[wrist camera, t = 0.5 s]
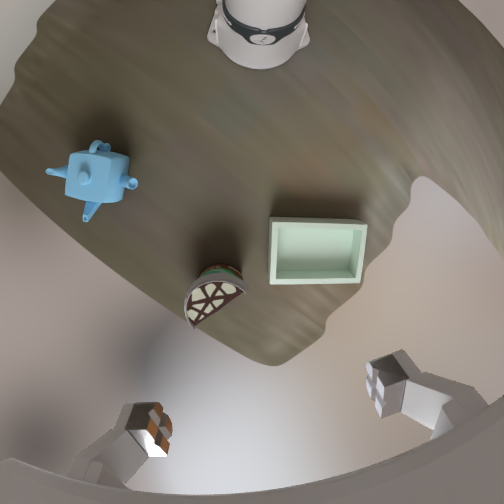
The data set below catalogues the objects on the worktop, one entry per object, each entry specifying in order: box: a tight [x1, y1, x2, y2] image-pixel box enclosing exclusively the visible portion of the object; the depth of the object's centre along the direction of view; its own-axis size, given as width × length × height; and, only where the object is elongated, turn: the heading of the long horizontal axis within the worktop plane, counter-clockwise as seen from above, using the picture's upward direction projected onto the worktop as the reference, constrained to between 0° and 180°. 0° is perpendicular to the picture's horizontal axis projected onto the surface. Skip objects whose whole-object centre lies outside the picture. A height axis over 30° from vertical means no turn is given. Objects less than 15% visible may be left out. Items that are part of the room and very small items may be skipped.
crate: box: [267, 217, 368, 284], centre depth 51 cm, size 11×17×5 cm, turn 89°
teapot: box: [46, 140, 138, 222], centre depth 43 cm, size 18×14×10 cm
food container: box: [184, 264, 249, 329], centre depth 50 cm, size 12×6×10 cm, turn 128°
